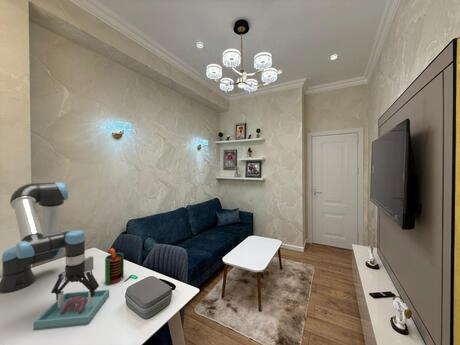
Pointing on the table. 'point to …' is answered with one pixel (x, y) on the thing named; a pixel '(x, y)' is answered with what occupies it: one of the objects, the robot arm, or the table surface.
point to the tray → (71, 311)
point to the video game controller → (71, 304)
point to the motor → (114, 267)
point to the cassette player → (86, 264)
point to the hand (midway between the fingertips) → (75, 304)
